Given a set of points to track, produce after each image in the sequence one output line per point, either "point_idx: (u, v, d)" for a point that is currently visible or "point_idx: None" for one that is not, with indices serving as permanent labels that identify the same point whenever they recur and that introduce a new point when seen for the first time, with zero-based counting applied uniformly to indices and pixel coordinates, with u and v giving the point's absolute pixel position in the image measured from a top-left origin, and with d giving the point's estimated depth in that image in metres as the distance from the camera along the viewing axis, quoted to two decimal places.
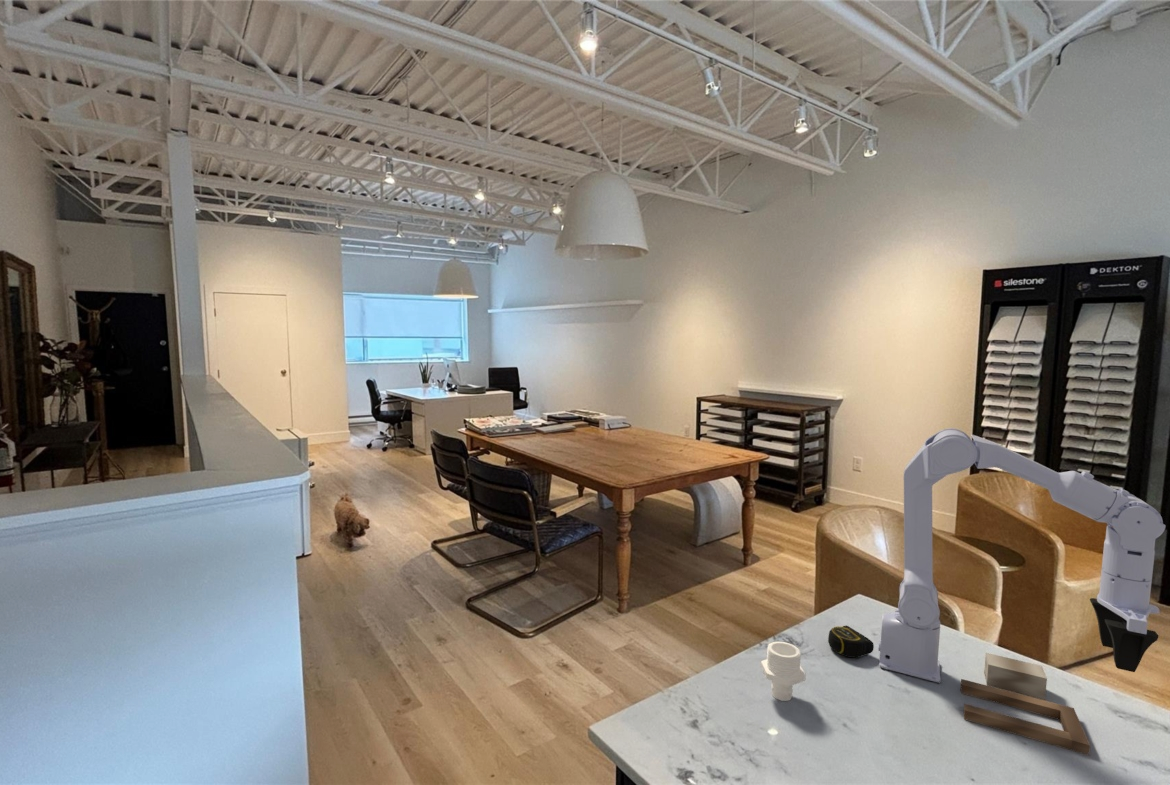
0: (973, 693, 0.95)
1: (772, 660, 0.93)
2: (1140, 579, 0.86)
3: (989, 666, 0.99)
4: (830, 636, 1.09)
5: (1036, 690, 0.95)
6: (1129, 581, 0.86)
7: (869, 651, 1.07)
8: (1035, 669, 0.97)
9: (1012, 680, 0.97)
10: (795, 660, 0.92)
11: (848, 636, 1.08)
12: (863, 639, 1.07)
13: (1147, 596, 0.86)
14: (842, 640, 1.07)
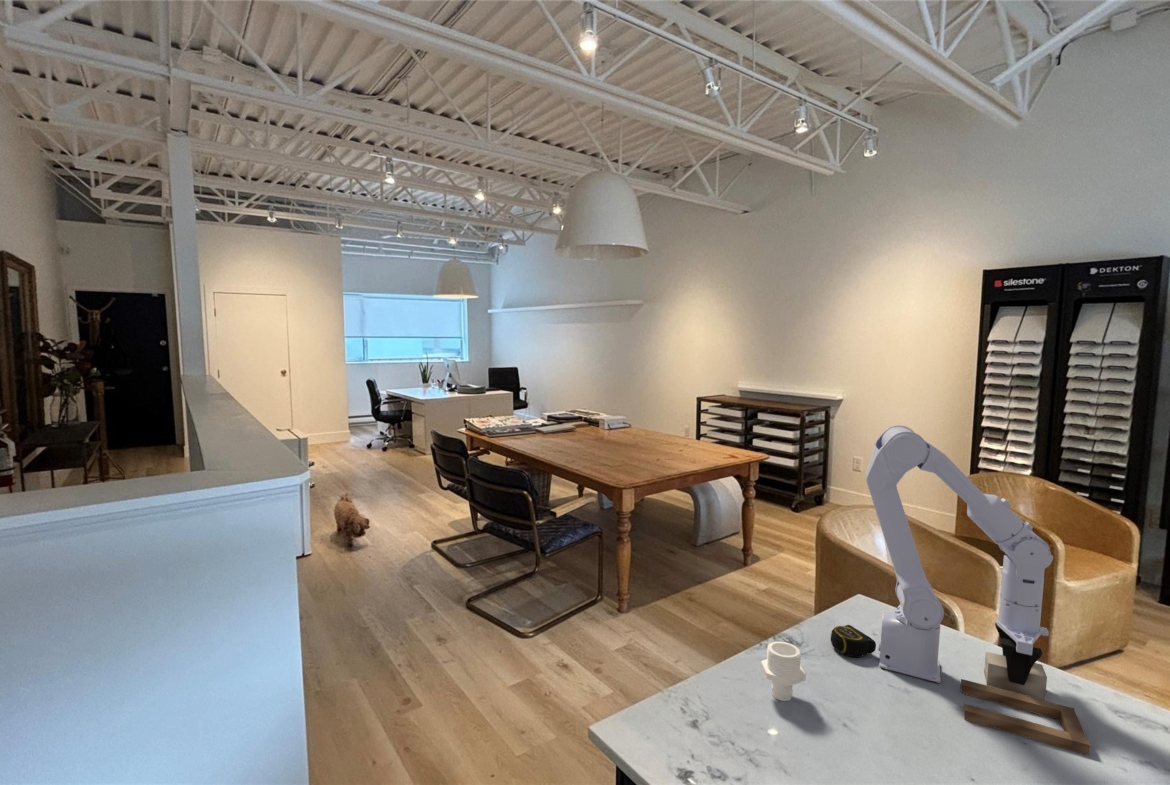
0: (973, 693, 0.95)
1: (772, 660, 0.93)
2: (1033, 605, 0.95)
3: (989, 665, 0.99)
4: (832, 635, 1.09)
5: (1036, 689, 0.95)
6: (1021, 606, 0.95)
7: (871, 650, 1.07)
8: (1035, 668, 0.97)
9: None
10: (795, 660, 0.92)
11: (850, 636, 1.08)
12: (865, 638, 1.07)
13: (1037, 620, 0.95)
14: (844, 639, 1.07)
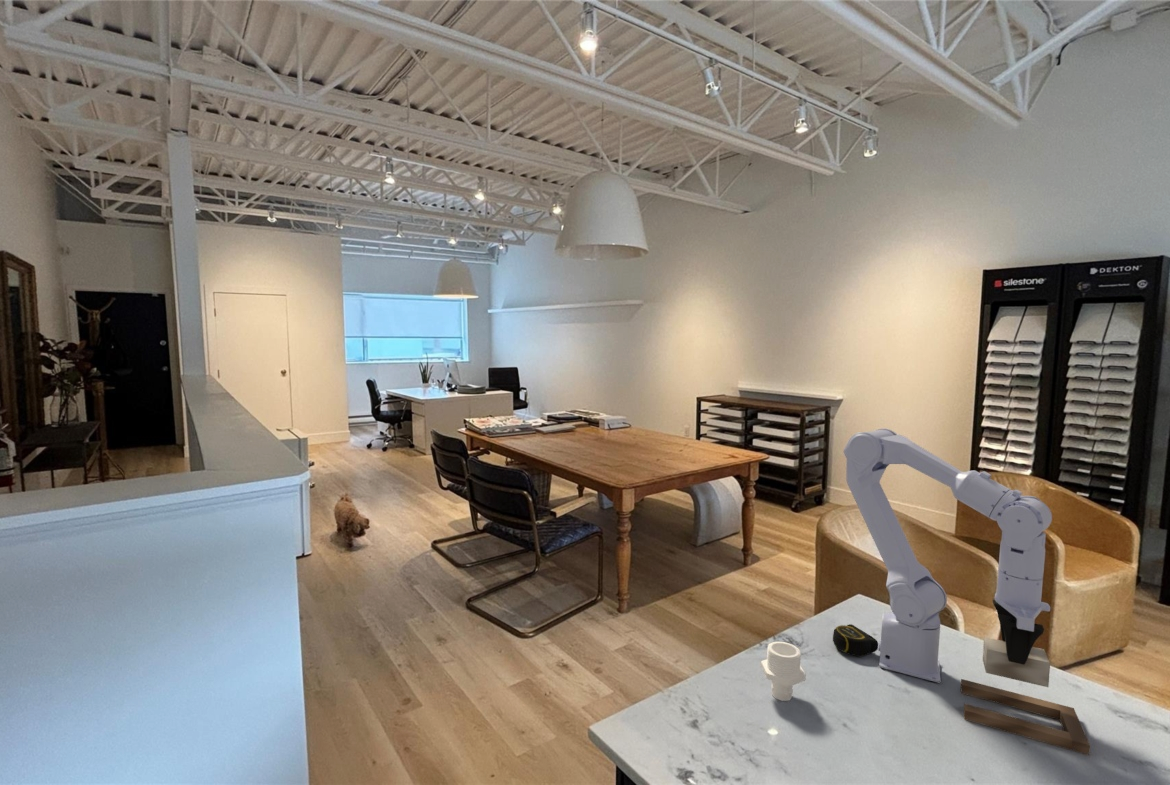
0: (973, 693, 0.95)
1: (772, 660, 0.93)
2: (1022, 577, 0.89)
3: (988, 651, 0.92)
4: (835, 634, 1.10)
5: (1039, 675, 0.89)
6: (1021, 580, 0.89)
7: (874, 650, 1.07)
8: (1037, 653, 0.91)
9: (1013, 665, 0.90)
10: (795, 660, 0.92)
11: (852, 635, 1.08)
12: (868, 638, 1.08)
13: (1038, 594, 0.89)
14: (847, 639, 1.07)
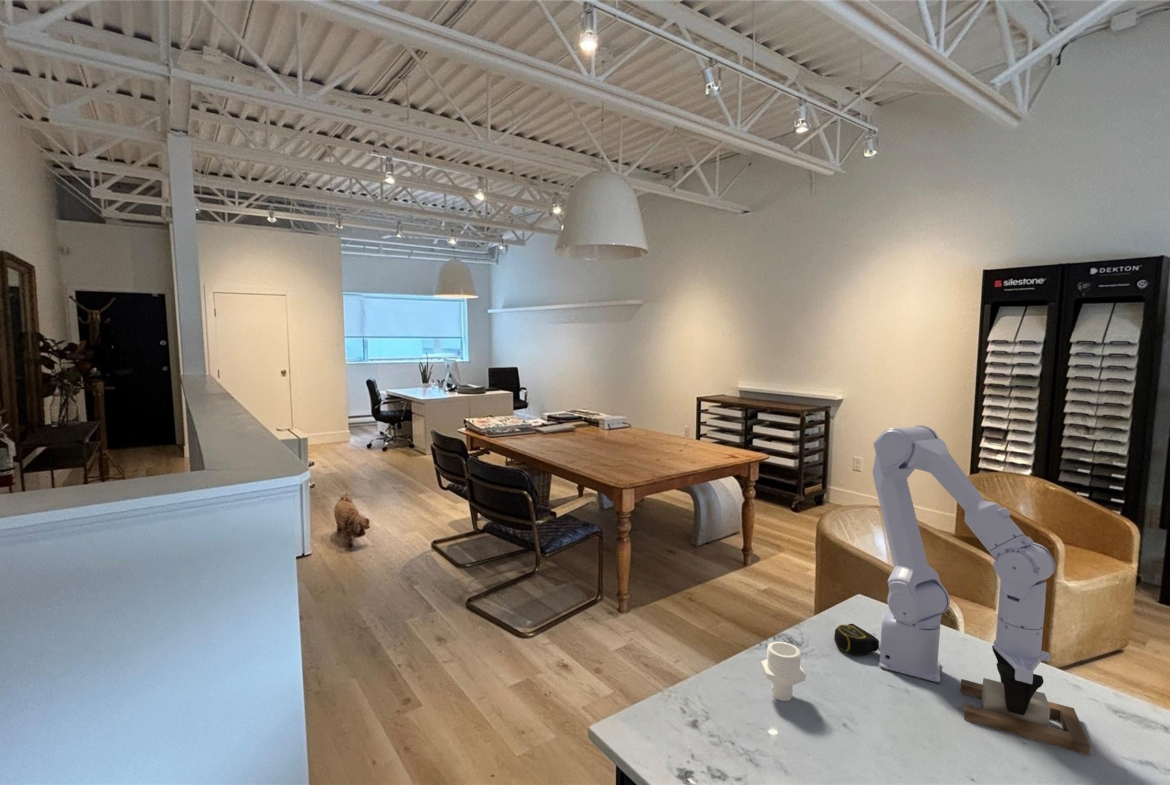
0: (973, 693, 0.95)
1: (772, 660, 0.93)
2: (1018, 625, 0.87)
3: (987, 694, 0.90)
4: (836, 634, 1.10)
5: (1039, 721, 0.87)
6: (1020, 629, 0.87)
7: (875, 649, 1.08)
8: (1037, 697, 0.89)
9: None
10: (795, 660, 0.92)
11: (854, 634, 1.09)
12: (869, 637, 1.08)
13: (1038, 644, 0.87)
14: (848, 638, 1.08)
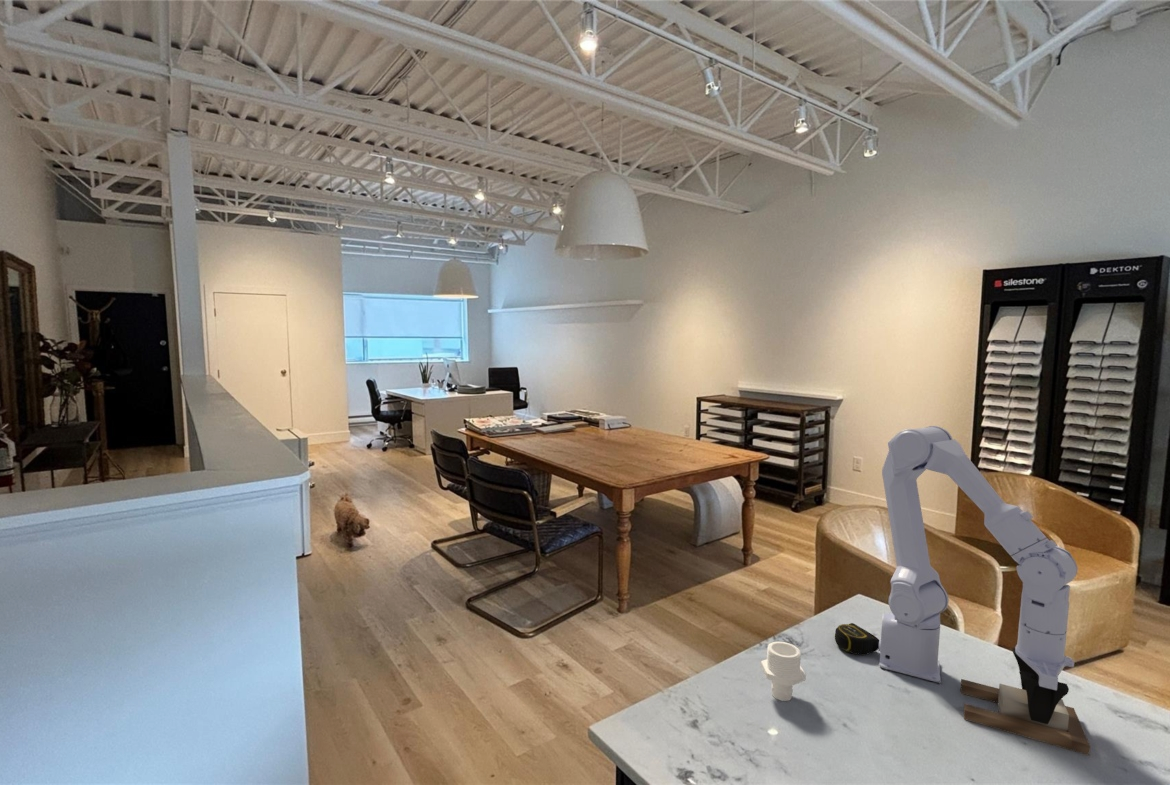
0: (973, 693, 0.95)
1: (772, 660, 0.93)
2: (1043, 630, 0.86)
3: (1004, 700, 0.89)
4: (837, 633, 1.10)
5: (1057, 727, 0.86)
6: (1043, 634, 0.86)
7: (875, 648, 1.08)
8: None
9: (1029, 715, 0.87)
10: (795, 660, 0.92)
11: (854, 634, 1.09)
12: (870, 636, 1.08)
13: (1061, 649, 0.85)
14: (849, 638, 1.08)
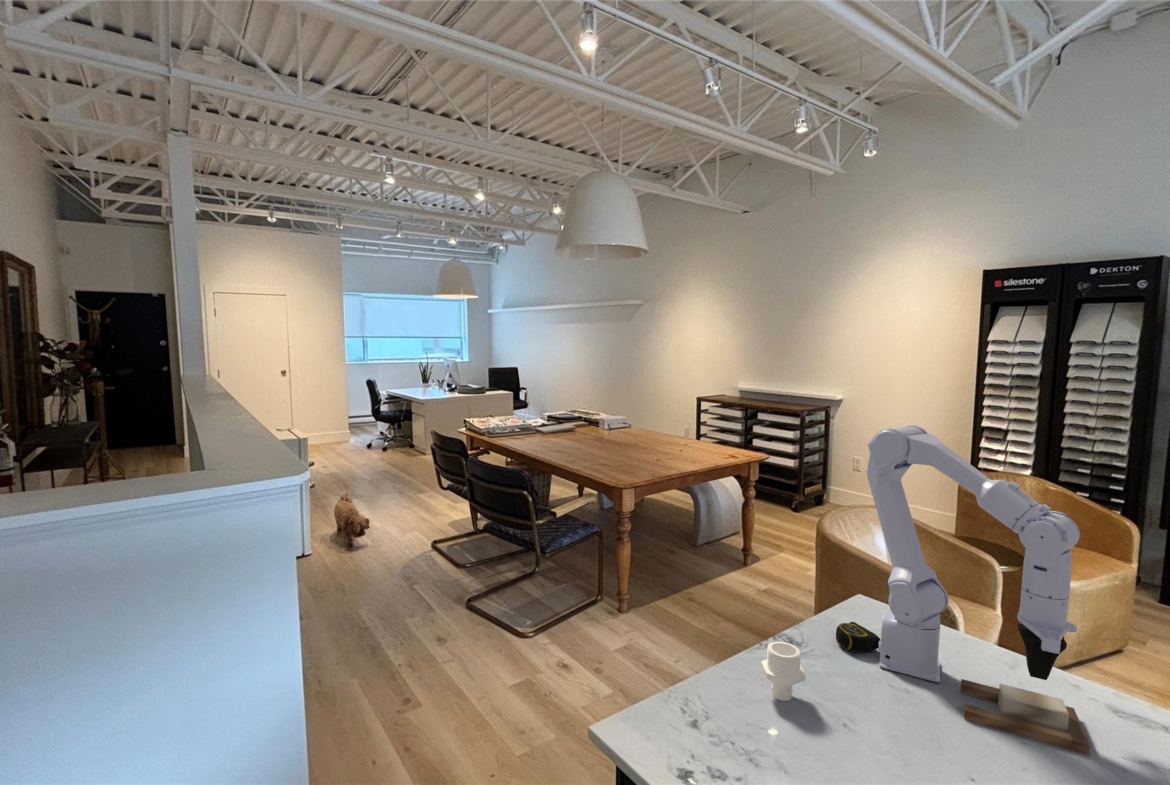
0: (973, 693, 0.95)
1: (772, 660, 0.93)
2: (1045, 595, 0.85)
3: (1004, 700, 0.89)
4: (838, 632, 1.11)
5: (1057, 727, 0.86)
6: (1046, 599, 0.85)
7: (876, 646, 1.08)
8: (1055, 703, 0.88)
9: (1029, 715, 0.87)
10: (795, 660, 0.92)
11: (855, 632, 1.09)
12: (870, 635, 1.09)
13: (1064, 614, 0.85)
14: (850, 636, 1.08)
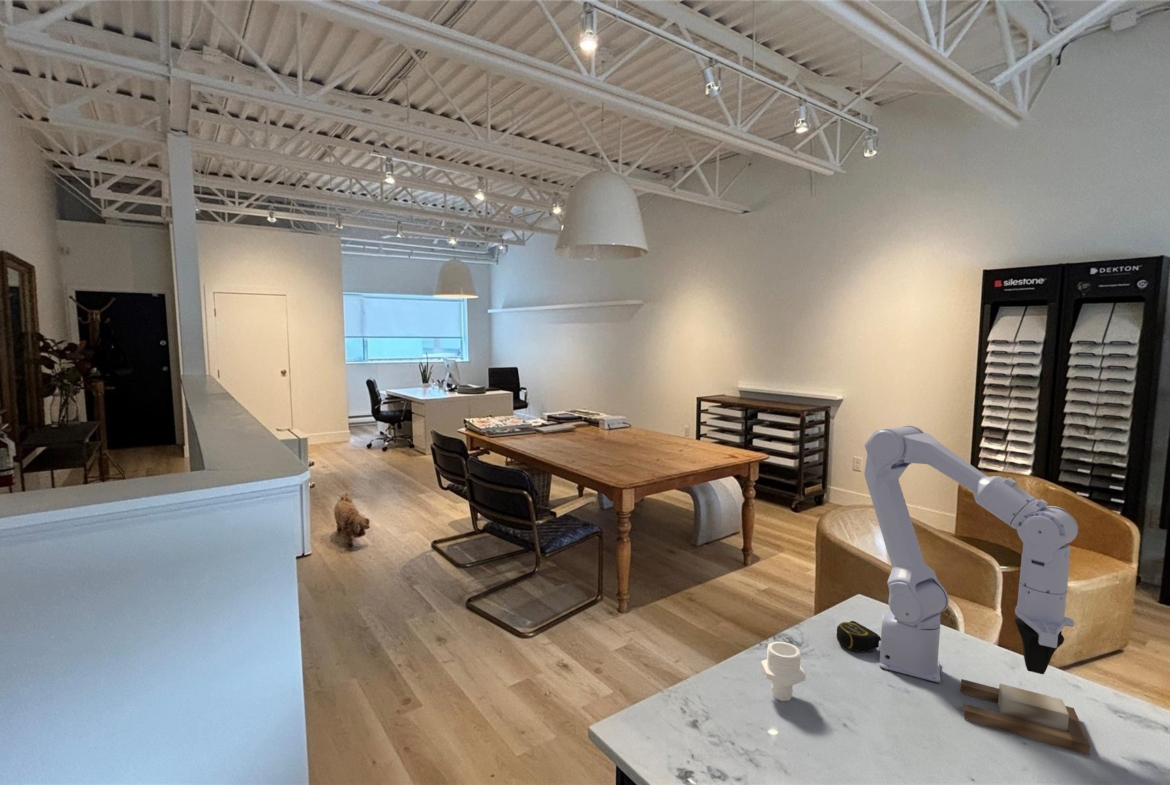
0: (973, 693, 0.95)
1: (772, 660, 0.93)
2: (1043, 590, 0.85)
3: (1004, 699, 0.89)
4: (839, 631, 1.11)
5: (1057, 727, 0.86)
6: (1043, 594, 0.85)
7: (877, 645, 1.09)
8: (1055, 703, 0.88)
9: (1029, 715, 0.87)
10: (795, 660, 0.92)
11: (856, 631, 1.10)
12: (871, 634, 1.09)
13: (1061, 609, 0.85)
14: (851, 635, 1.09)
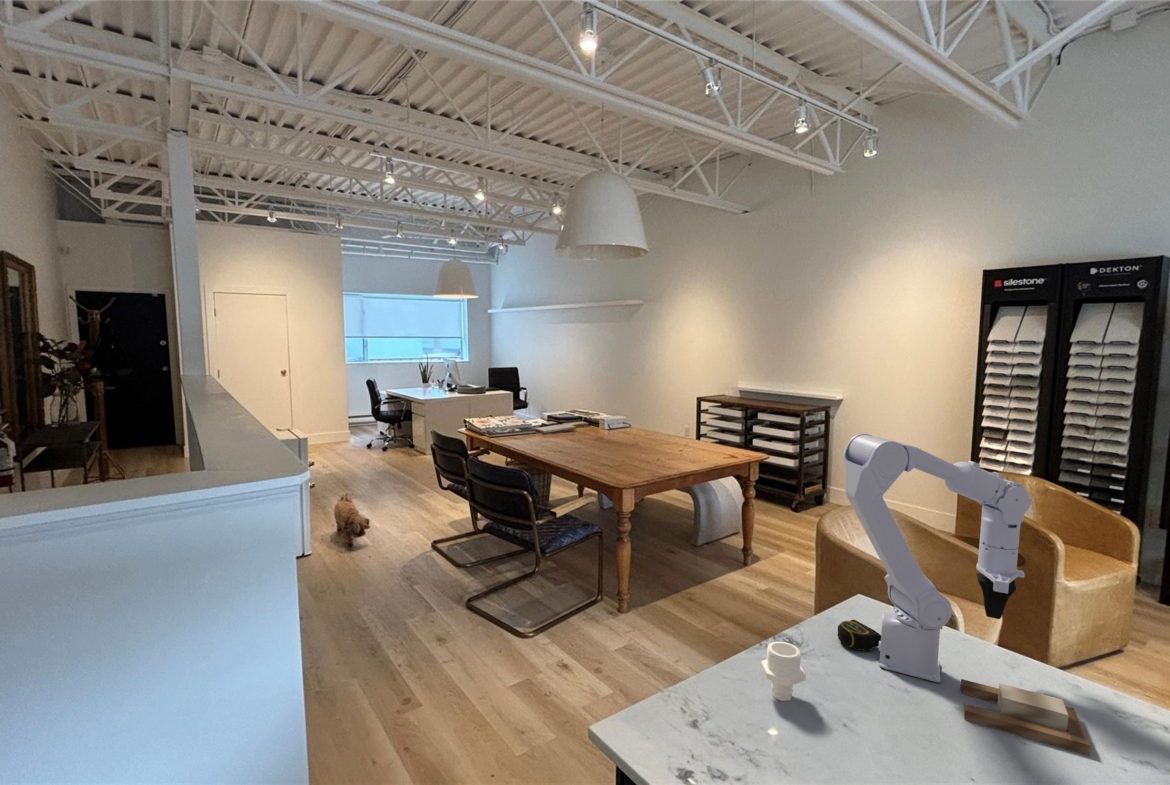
0: (973, 693, 0.95)
1: (772, 660, 0.93)
2: (1015, 547, 1.01)
3: (1003, 699, 0.89)
4: (840, 630, 1.11)
5: (1056, 727, 0.86)
6: (998, 549, 1.01)
7: (878, 644, 1.09)
8: (1054, 703, 0.88)
9: (1029, 715, 0.88)
10: (795, 660, 0.92)
11: (857, 630, 1.10)
12: (872, 632, 1.10)
13: (1013, 562, 1.01)
14: (852, 634, 1.09)
